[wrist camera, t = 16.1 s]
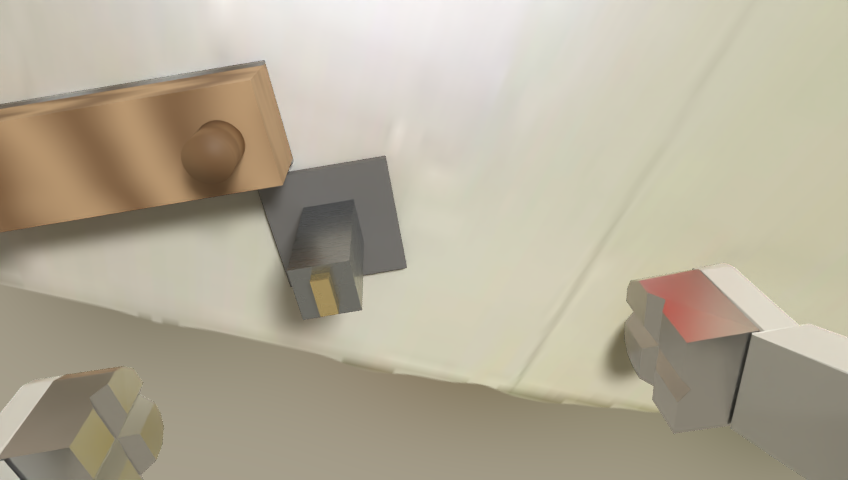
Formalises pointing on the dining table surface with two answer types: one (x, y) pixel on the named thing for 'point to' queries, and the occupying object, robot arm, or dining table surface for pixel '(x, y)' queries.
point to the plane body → (140, 146)
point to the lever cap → (328, 260)
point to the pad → (334, 185)
